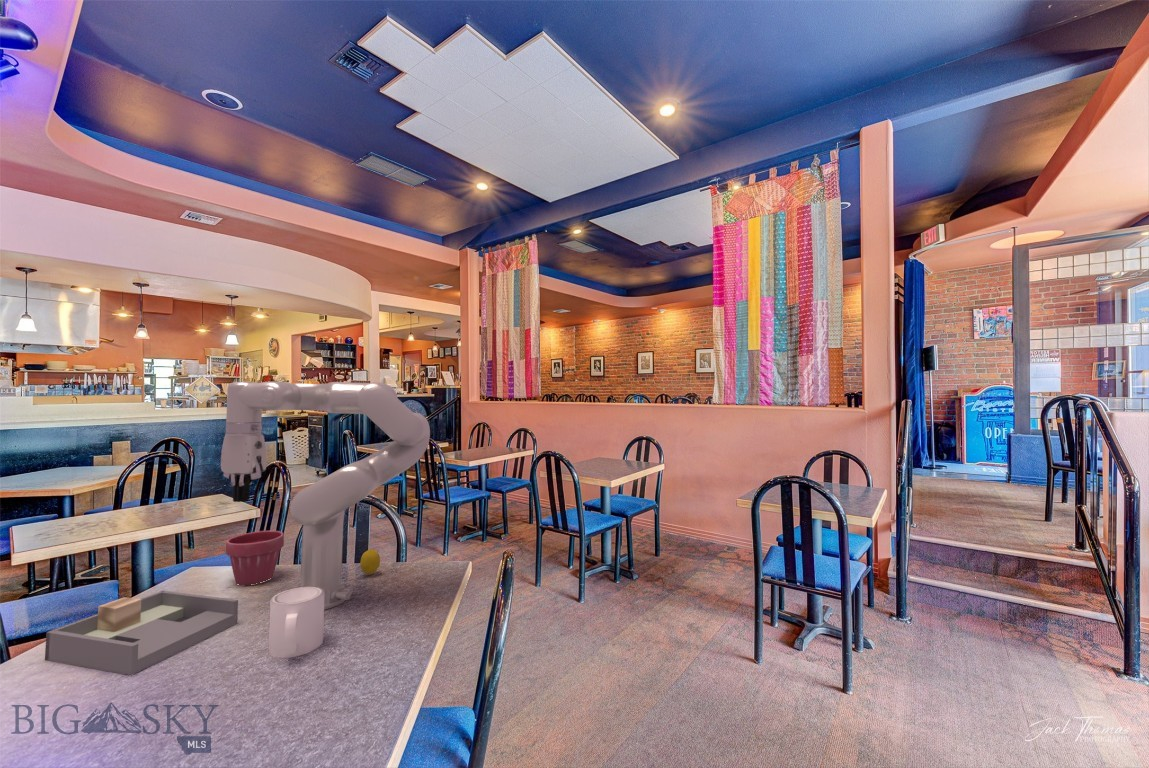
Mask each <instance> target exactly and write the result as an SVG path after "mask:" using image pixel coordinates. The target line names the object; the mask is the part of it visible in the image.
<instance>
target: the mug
mask: <svg viewBox="0 0 1149 768" xmlns="http://www.w3.org/2000/svg"><path fill="white" fill-rule="evenodd" d="M324 596H325V591H324V589H323V588H321V587H316V586H306V587H300V586H299V587H294V588H288V589H286V590H283V591H281V592H278V593H276V594H274V595H273V596H272V597H271V598H270V601H269V604H270V605H269V606H270V607H269V632H268V633H269V635H268V655H270V656H271V657H273V658H277V659H287V658H295V657H299V656H303V655H305V654H308V653H310V652H312V651H314V650H316V649H318V648H319V647H320V646H321V645H322V644H323V642H324V631H325V630H324V627H325V626H324V625H325V624H324V623H325V622H324V620H325V610H324Z"/></svg>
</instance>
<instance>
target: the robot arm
mask: <svg viewBox="0 0 1149 768" xmlns="http://www.w3.org/2000/svg"><path fill="white" fill-rule="evenodd" d="M226 390H227V391H226V392H227V393H226V394H227V396H226V417H225V418H226V420H225V422H226V423H225V435H224V437H223V441H222V448H221V455H220V471H221V472H223V477H225V478H226V479H229V480H230V485H231V486H232V487H233V488H232V489H233V491H232V492H233V495H232V502H234V503H240V502H241V503H242V502H245V501H249V500H250V490H251V489H250V488H251V486H252V484H253V482H254V480H257V479H260V478H261V477H262V473H263V472H265V471H266V470H267V451H266V450H267V449H266V443H265V442H266V441H265V436H264V434H262V430H263V426H262V420H263V419H262V414H263V410H266V411H318V412H326V413H328V414H348V415H349V414H351V415H352V414H353V415H357V414H358V415H365V416H366V417H368V418H369V419H370V421H372V422H373V424H375V425H376V426H377V428H379V429H381V430H382V431H383V433H385V434H386V435H387V436H388V437H389V438H390V439H391V440H392V442H391V443H390V444H387V445H386V446H384V447H382V448H381V449H379V450H378V451H375V452H374V453H371V454H370V455H369V456H366V457H364V458H362V459H360V460H357V461H354V462H352V463H349V464H347V465H345V466H342V467H341V468H339V469H337V470H336V471H334V472H332V473H330V474H329V475H326V476H324V477H322V478H321V479H319V480H318V481H317V480H316V481H315V482H314V483H312V484H310V485H308V486H307V487H304V488H302V489H300V490H299V491H298V492H297V493H296V494H295V495H294V497H293V498H292V500H291V502H290V505H289V506H290V507H289V512H290V515H291V518H292V519H293V520H294V521H295V522H296V523H297V524H299V525H303V526H302V535H301V558H300V561H301V562H300V565H301V566H300V586H299V587H306V586H316V587H321V588H323V589H324V591H325V596H324V611H325V610H328V609H331V608H332V609H333V608H334V607H337V606H340V605H341V604H343V603H344V602H345V601H348V600H350V598H351V595H352V594H353V589H352V588H346V585H345V584H346V583H345V581H342V571H343V569H342V565H343V538H344V519H345V513H346V512H345V511H346V510H347V509H349V508H350V507H352V506H354V505H356V504H357V503H359V502H360V501H362V500H364V499H365V498H367V497H368V496H369V495H371V494H372V493H373V492H375V491H376V489H377V488H379V487H380V486H382V485H384V484H386V483H387V482H389V481H390V480H393V479H394V478H395V477H397V476H399V475H400V474H402V473H404V472H406V471H407V470H409V469H410V468H411V467H413V466H415V464H416V463H417V462H419V460H420V459H421V458H422V456H423V455H424V454H425V452H426V451H427V448H428V446H429V442H430V437H431V430H430V424H429V421H428V419H427V418H426V417H425V416H424V415H422V414H421V413H417V412H413V411H412V410H411V409H410V408H408V406H407V405H405V404H404V403H403V401H401V400H400V399H399V398H398V395H397V392H396V390H395V389H394V387H393V386H391V385H389V384H386V383H381V382H348V381H345V382H344V381H331V382H328V383H298V382H297V383H296V382H295V383H293V382H287V381H283V382H282V381H263V382H252V381H235V382H231V383H228V386H227V389H226ZM250 485H251V486H250Z"/></svg>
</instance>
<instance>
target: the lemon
mask: <svg viewBox="0 0 1149 768" xmlns="http://www.w3.org/2000/svg"><path fill="white" fill-rule="evenodd" d="M361 555H362V556H361V557H360V562H359V563H360V565H359V566H360V569H361V571H362V572H363V573H365V574H367V575H368V574H371V573H372V574H374V573H375V572H376V571H377V570H378V569H379V567H380V565H381V557H380V553H379V552H378V551H377V550H375V549H372V548H369V549H368V550H366V551H365V552H363V554H361ZM372 574H371V575H372Z"/></svg>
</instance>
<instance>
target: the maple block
mask: <svg viewBox="0 0 1149 768" xmlns="http://www.w3.org/2000/svg"><path fill="white" fill-rule="evenodd" d="M97 614H98V624H97V630H104V631H110V632H116V631H119V630H121V629H124V628H126V627H129V626H131V625H134V624H136V623H139V622H140V619H141V598H133V597H126V596H124V597H121V598H119V599H115V600H113V601H109V602H106V603H104V604H101V605H98V606H97Z"/></svg>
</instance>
